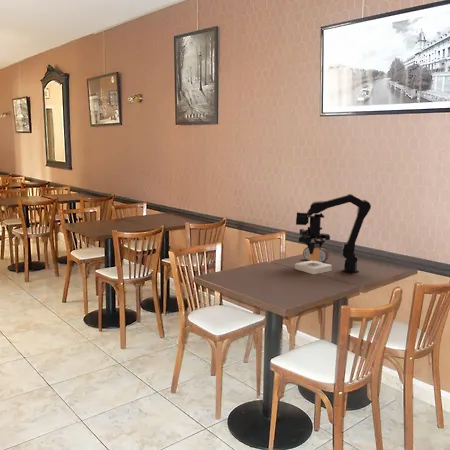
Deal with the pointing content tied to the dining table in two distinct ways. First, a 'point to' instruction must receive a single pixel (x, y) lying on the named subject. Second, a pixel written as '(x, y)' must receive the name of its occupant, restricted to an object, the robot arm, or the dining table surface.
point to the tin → (322, 254)
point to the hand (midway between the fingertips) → (313, 253)
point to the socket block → (313, 267)
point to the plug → (315, 253)
